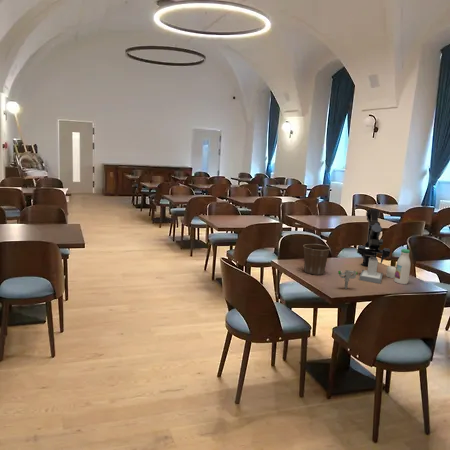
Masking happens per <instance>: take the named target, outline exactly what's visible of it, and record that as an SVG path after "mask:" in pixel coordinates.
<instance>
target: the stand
mask: <svg viewBox="0 0 450 450" xmlns="http://www.w3.org/2000/svg"><path fill="white" fill-rule="evenodd" d="M367 271H368V269H362V270H361V271H360V274H359V279H358V280H359V281H363V282H368V283H373V284H374V283H375V284H380V285H381V283H382V279H383V274H384V273H383V272H378V271H377V272H376V276H372V275H368V273H367Z"/></svg>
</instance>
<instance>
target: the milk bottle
mask: <svg viewBox="0 0 450 450" xmlns="http://www.w3.org/2000/svg"><path fill="white" fill-rule="evenodd" d="M410 252H411V251H410V249H406V248H401V250H400V253H401V254H400V256H399V258H397V261H396V266H395V267H396V271H395V278H393V280H394V281H393V282H394V283H397V284H399V285H400V284H401V285H407V284H409V278H410V272H411V259H410Z"/></svg>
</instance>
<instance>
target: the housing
mask: <svg viewBox="0 0 450 450" xmlns="http://www.w3.org/2000/svg"><path fill="white" fill-rule="evenodd" d="M378 263H379V260H378V258H377V256H376V257H370V258H369V263H368V267H367V270H368V271H367V273H368V275H372V276H376V272H378V271H377V270H378Z"/></svg>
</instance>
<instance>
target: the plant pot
mask: <svg viewBox="0 0 450 450" xmlns="http://www.w3.org/2000/svg"><path fill="white" fill-rule="evenodd" d="M302 247H303V254H304V255H303V256H304V257H303V258H304V262H303V266H304V267H303V268H304V269H303V271H304V272H305V273H306V274H308V275H311V274H312V275H315V276H321V275H324V274H325V271H326V270H325V269H326V267H327V260H328V257H329V254H330V250H331V247H329V246H328V245H324V244H320V245H318V243H307V244H303V245H302Z"/></svg>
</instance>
